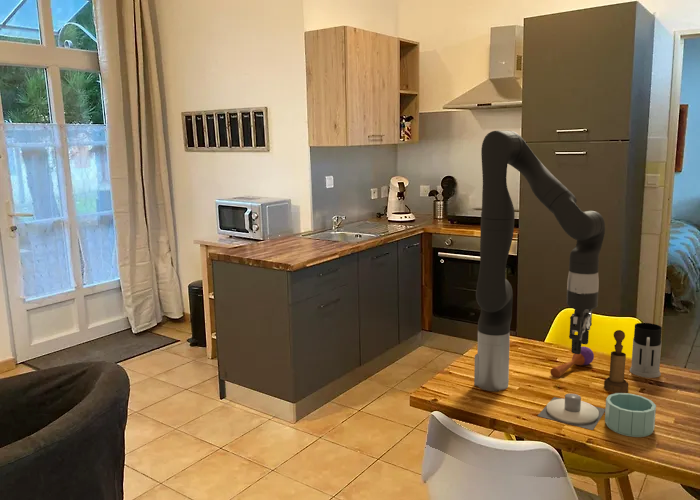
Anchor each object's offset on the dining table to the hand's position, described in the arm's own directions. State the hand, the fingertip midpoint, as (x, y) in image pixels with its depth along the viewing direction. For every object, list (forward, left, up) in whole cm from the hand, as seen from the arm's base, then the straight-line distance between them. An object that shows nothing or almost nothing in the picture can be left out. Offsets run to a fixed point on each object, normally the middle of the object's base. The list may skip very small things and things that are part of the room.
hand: (579, 348), depth 152 cm
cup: (+13, -1, -18) cm, 23 cm away
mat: (-1, -1, -18) cm, 18 cm away
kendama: (-10, +31, -19) cm, 37 cm away
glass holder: (+10, +38, -18) cm, 43 cm away
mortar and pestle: (+5, +22, -18) cm, 29 cm away
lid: (-1, -1, -18) cm, 18 cm away
